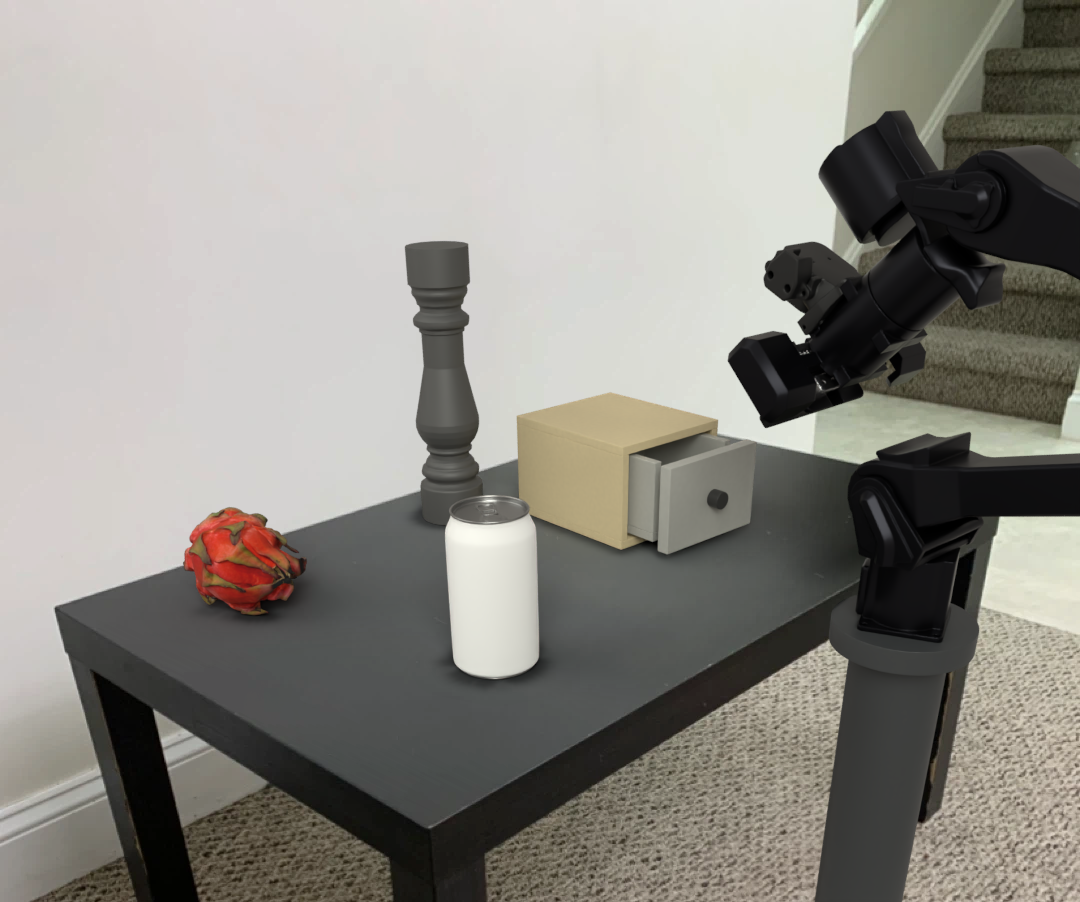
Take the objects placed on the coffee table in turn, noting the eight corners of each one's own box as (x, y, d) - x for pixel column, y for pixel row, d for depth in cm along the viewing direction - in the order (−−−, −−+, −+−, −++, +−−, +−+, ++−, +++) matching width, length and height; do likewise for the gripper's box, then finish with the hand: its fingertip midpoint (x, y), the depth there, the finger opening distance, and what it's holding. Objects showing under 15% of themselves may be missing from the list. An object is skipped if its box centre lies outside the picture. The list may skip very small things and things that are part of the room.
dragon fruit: (216, 594, 97) (299, 651, 91) (139, 567, 90) (223, 627, 84) (258, 509, 97) (345, 561, 90) (184, 475, 89) (272, 529, 83)
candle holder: (496, 510, 110) (485, 242, 98) (460, 529, 106) (444, 251, 93) (446, 500, 113) (429, 239, 100) (410, 518, 109) (387, 247, 96)
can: (463, 687, 79) (453, 529, 72) (445, 648, 84) (435, 498, 78) (549, 674, 80) (546, 518, 74) (527, 637, 85) (522, 488, 79)
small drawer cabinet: (712, 516, 108) (718, 419, 103) (621, 550, 101) (623, 447, 96) (609, 482, 117) (610, 392, 112) (519, 510, 110) (516, 415, 105)
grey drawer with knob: (760, 526, 103) (767, 444, 99) (677, 558, 96) (681, 472, 92) (647, 489, 112) (650, 413, 108) (565, 516, 106) (564, 436, 102)
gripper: (914, 195, 84) (786, 325, 97) (758, 217, 74) (638, 360, 87) (990, 315, 83) (850, 431, 96) (842, 354, 73) (707, 479, 85)
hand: (764, 422), depth 91 cm, fingers closed
